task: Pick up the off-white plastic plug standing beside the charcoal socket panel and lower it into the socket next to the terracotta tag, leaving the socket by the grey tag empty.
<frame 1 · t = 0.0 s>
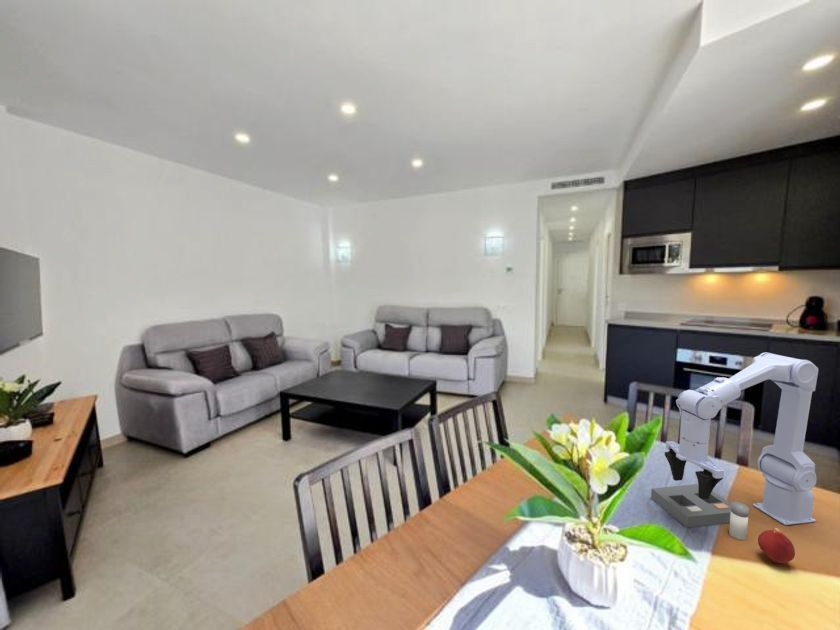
hand: (690, 488, 89), 10 cm above the table, tool pointing down, fingers open, 7 cm apart
socket panel: (694, 509, 96), on the table
red rounded oval piece: (774, 561, 79), on the table
plug: (737, 535, 86), on the table
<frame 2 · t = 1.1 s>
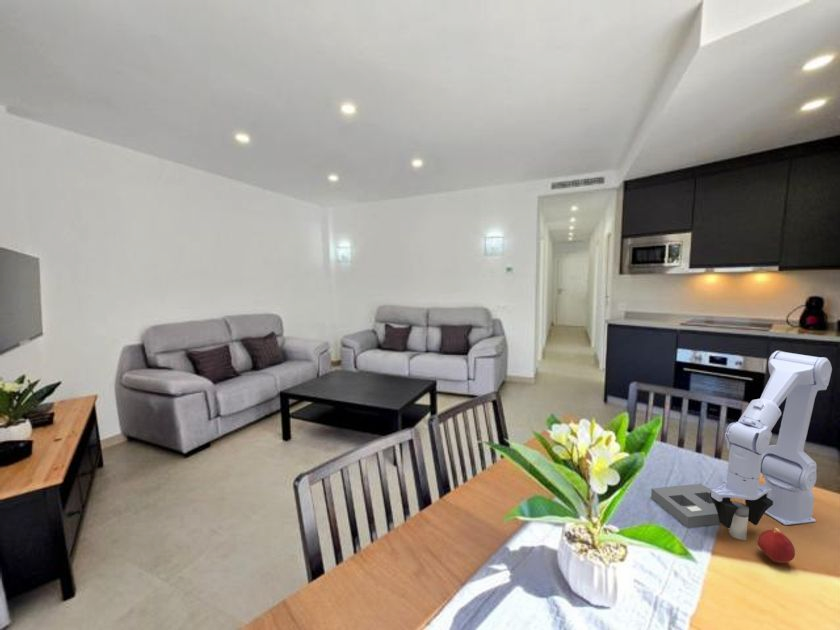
hand: (738, 523, 86), 3 cm above the table, tool pointing down, fingers open, 7 cm apart
nothing on the table moved.
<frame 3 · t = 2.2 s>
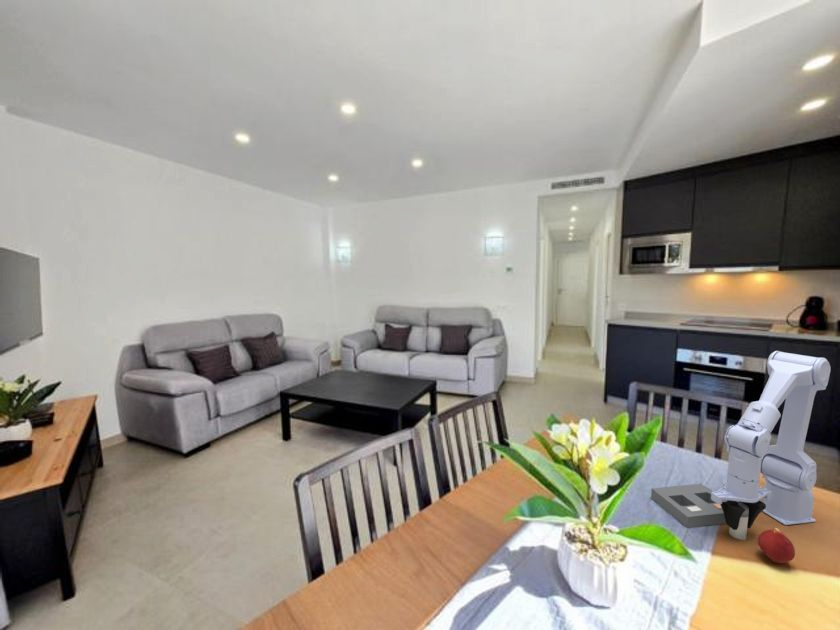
hand: (738, 526, 86), 2 cm above the table, tool pointing down, fingers closed on plug, 3 cm apart
plug: (737, 535, 86), on the table, touching gripper
everything else where it was.
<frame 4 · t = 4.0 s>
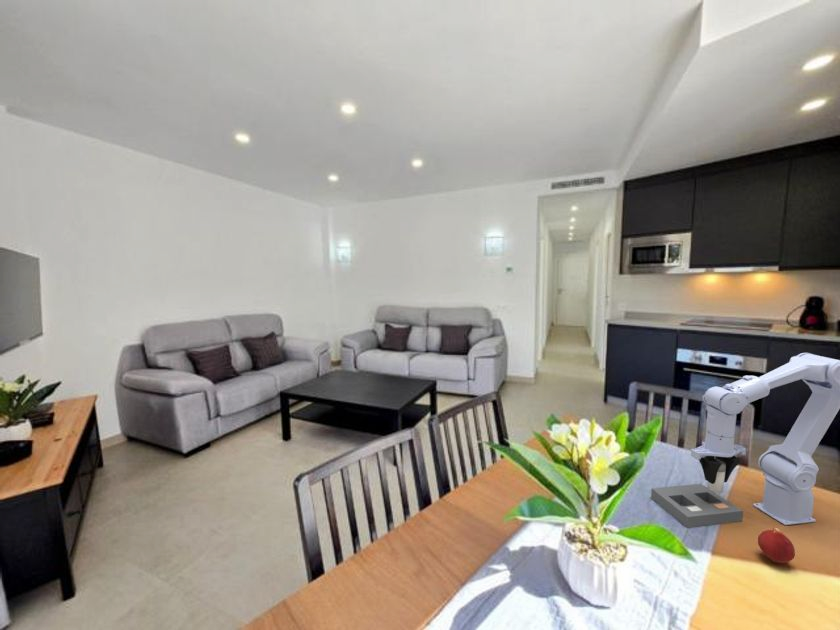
hand: (715, 480, 93), 9 cm above the table, tool pointing down, fingers closed on plug, 3 cm apart
plug: (715, 489, 94), point 7 cm above the table, touching gripper
everything else where it was.
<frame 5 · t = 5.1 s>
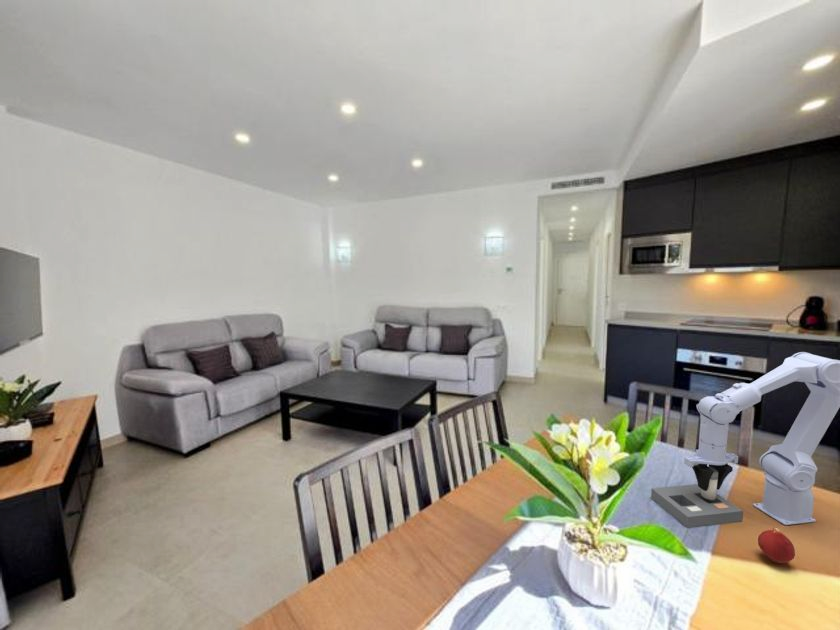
hand: (708, 488, 96), 6 cm above the table, tool pointing down, fingers closed on plug, 3 cm apart
plug: (708, 496, 96), point 3 cm above the table, touching gripper
everything else where it was.
when the fingers open (4 cm above the table, at t = 5.8 s): plug drops 2 cm, resting in socket panel.
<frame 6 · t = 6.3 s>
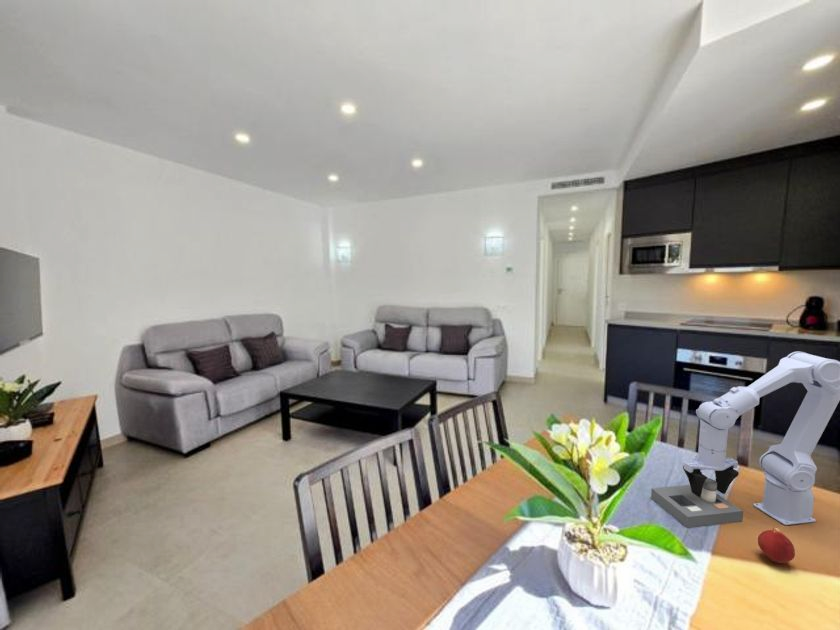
hand: (708, 493, 96), 4 cm above the table, tool pointing down, fingers open, 7 cm apart
plug: (707, 507, 97), resting in socket panel
everything else where it was.
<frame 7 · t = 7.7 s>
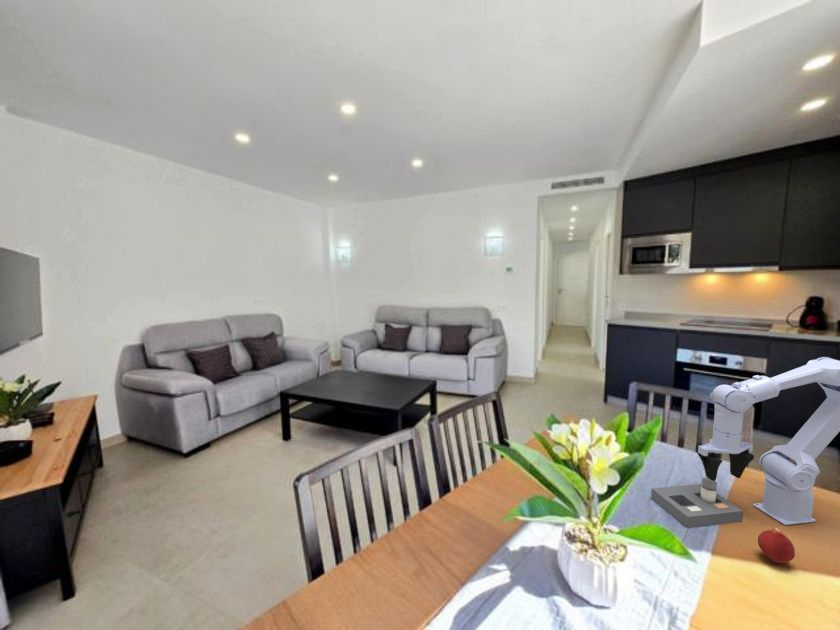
hand: (723, 477, 95), 9 cm above the table, tool pointing down, fingers open, 7 cm apart
nothing on the table moved.
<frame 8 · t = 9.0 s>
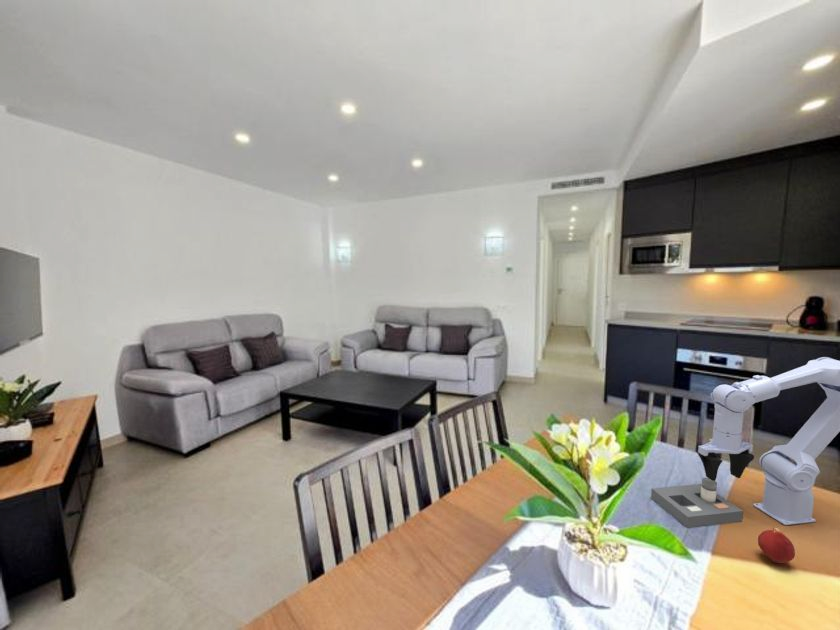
hand: (723, 477, 95), 9 cm above the table, tool pointing down, fingers open, 7 cm apart
nothing on the table moved.
at the end: plug 0.0 cm from the target spot on the socket panel, point 0.0 cm above the socket panel's base; plug tilted 0°; the gripper is holding nothing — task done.
